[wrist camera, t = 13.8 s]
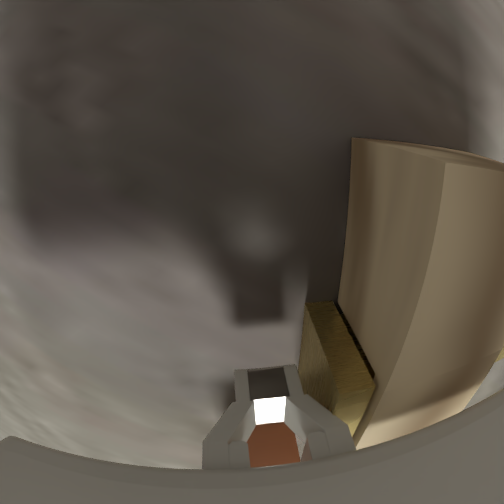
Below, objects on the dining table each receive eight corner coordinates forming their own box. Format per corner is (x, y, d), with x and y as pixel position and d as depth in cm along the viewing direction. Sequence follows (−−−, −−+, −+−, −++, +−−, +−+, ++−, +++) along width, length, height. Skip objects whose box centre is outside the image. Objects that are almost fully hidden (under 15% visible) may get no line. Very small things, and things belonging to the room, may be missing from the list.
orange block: (229, 443, 16) (232, 495, 13) (225, 427, 15) (228, 484, 12) (289, 438, 17) (299, 488, 13) (292, 421, 16) (303, 476, 12)
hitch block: (314, 418, 16) (331, 485, 12) (351, 137, 9) (445, 162, 5) (396, 399, 16) (423, 456, 12) (469, 152, 10) (557, 185, 5)
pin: (297, 377, 14) (317, 457, 10) (304, 303, 12) (339, 394, 8) (494, 328, 15) (530, 370, 11) (518, 270, 13) (564, 309, 9)
